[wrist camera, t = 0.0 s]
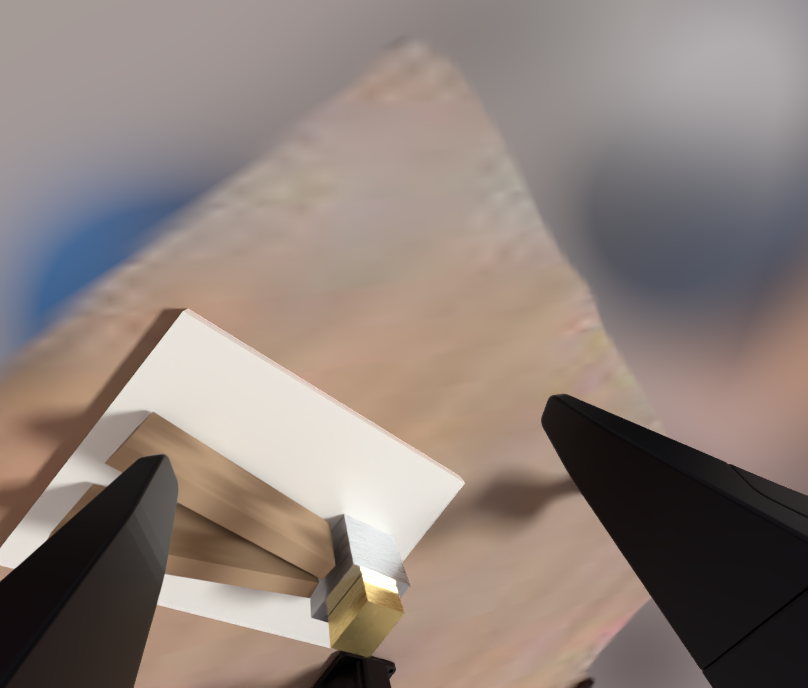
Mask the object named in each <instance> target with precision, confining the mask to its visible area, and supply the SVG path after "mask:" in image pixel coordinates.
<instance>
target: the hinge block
mask: <svg viewBox="0 0 808 688" xmlns="http://www.w3.org/2000/svg"><path fill="white" fill-rule="evenodd" d="M331 536H332V543H333V551H334V559H335V567H334V568H333V569H332V570H331V571H330V572H329V573H328V574H327V575H326V576H325V577H324V578H323V579H320V578H319V584H318V585H317V587H316V589H315V590H314V592H313V594H312V595H311V597H310V607H311V618H314V619H317V620H321V621H324V622H328V617H329V615H330V614H331V613H332V612H333V610H334V609H335V608H336V606H337V605H338V604H339V603H340V601H341V600H342V599H343V598H344V596H345V595H346V594H347V593H348V591H349V590H350V589H351V588H352V586H353V585H354V584H355V582H356V581H357V580H358V579H359V577H360V576H361V575H362V574H363V575H366V576H369V577H371V578H374V579H376V580H379V581H382V582H384V583H387V584H390V585H392V586H395V587H397V591H398V594H399V597H400V598H401V597H402V596H403V594H404V593H405V592H406V591H407V589H408V588H409V587H410V583H409V580H408V578H407V575H406V572H405V569H404V566H403V563H402V560H401V557H400V555H399V552H398V549H397V546H396V543H395V540H394V537H393V536H392V535H390V534H387V533H385V532H383V531H381V530H379V529H376V528H374V527H372V526H370V525H368V524H365V523H363V522H361V521H359V520H357V519H354V518H352V517H350V516H348V515H346V514H344V515H343V516H342V517H341V518H340V520H339V521H338V522H337V523H336V525H335V526H334V527H333V529H332V530H331Z"/></svg>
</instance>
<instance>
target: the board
mask: <svg viewBox="0 0 808 688" xmlns="http://www.w3.org/2000/svg"><path fill="white" fill-rule="evenodd" d="M152 412H155V413H156V414H158V415H159V416H161V417H163V418H164V419H166V420H167V421H169V422H171V423H172V424H174V425H175V426H177V427H178V428H180V429H182V430H183V431H185V432H186V433H188V434H189V435H191V436H193V437H194V438H196V439H197V440H199V441H201V442H202V443H204V444H205V445H207V446H208V447H210V448H212V449H213V450H215V451H216V452H218V453H219V454H221V455H223V456H224V457H226V458H227V459H229V460H231V461H232V462H234V463H235V464H237V465H238V466H240V467H242V468H243V469H245V470H246V471H248V472H249V473H251V474H253V475H254V476H256V477H257V478H259V479H261V480H262V481H264V482H265V483H267V484H268V485H270V486H272V487H273V488H275V489H276V490H278V491H279V492H281V493H283V494H284V495H286V496H287V497H289V498H291V499H292V500H294V501H295V502H297V503H298V504H300V505H302V506H303V507H305V508H306V509H308V510H309V511H311V512H313V513H314V514H316V515H317V516H319V517H321V518H322V519H324V520H325V521H327V522H328V523H330V528H331V530H332V529H333V527H334V526H335V525H336V523H337V522H338V521H339V520H340V518H341V517H342V516H343V515H344V514H346V515H348V516H350V517H352V518H354V519H357V520H359V521H361V522H363V523H365V524H368V525H370V526H372V527H374V528H376V529H379V530H381V531H383V532H385V533H387V534H390V535H392V536H393V537H394V540H395V543H396V546H397V549H398V552H399V555H400V557H401V560H402V562H403V561H404V559H405V558H406V557H407V556H408V554H409V553H410V552H411V551H412V549H413V548H414V547H415V546H416V544H417V543H418V542H419V540H420V539H421V538H422V537H423V535H424V534H425V533H426V532H427V530H428V529H429V528H430V527H431V525H432V524H433V523H434V522H435V520H436V519H437V518H438V517H439V515H440V514H441V513H442V511H443V510H444V509H445V508H446V506H447V505H448V504H449V503H450V501H451V500H452V499H453V498H454V496H455V495H456V494H457V493H458V491H459V490H460V489H461V488H462V486H463V485H464V484H465V482H464V481H463V480H462V478H461V477H460V476H459V475H458V474H456V473H454V472H453V471H451V470H449V469H448V468H446V467H445V466H443V465H441V464H440V463H438V462H436V461H435V460H433V459H432V458H430V457H428V456H427V455H425V454H423V453H422V452H420V451H419V450H417V449H415V448H414V447H412V446H410V445H409V444H407V443H406V442H404V441H402V440H401V439H399V438H398V437H396V436H394V435H393V434H391V433H389V432H388V431H386V430H385V429H383V428H381V427H380V426H378V425H376V424H375V423H373V422H372V421H370V420H368V419H367V418H365V417H363V416H362V415H360V414H359V413H357V412H355V411H354V410H352V409H350V408H349V407H347V406H346V405H344V404H342V403H341V402H339V401H337V400H336V399H334V398H333V397H331V396H329V395H328V394H326V393H325V392H323V391H321V390H320V389H318V388H316V387H315V386H313V385H312V384H310V383H308V382H307V381H305V380H303V379H302V378H300V377H299V376H297V375H295V374H294V373H292V372H290V371H289V370H287V369H286V368H284V367H282V366H281V365H279V364H277V363H276V362H274V361H273V360H271V359H269V358H268V357H266V356H264V355H263V354H261V353H260V352H258V351H256V350H255V349H253V348H252V347H250V346H248V345H247V344H245V343H243V342H242V341H240V340H239V339H237V338H235V337H234V336H232V335H230V334H229V333H227V332H226V331H224V330H222V329H221V328H219V327H217V326H216V325H214V324H213V323H211V322H209V321H208V320H206V319H204V318H203V317H201V316H200V315H198V314H196V313H195V312H193V311H191V310H190V309H186V310H184V311H183V312H182V313H181V314H180V316H179V317H178V318H177V320H176V321H175V322H174V323H173V325H172V326H171V327H170V329H169V330H168V331H167V333H166V334H165V335H164V336H163V338H162V339H161V340H160V342H159V343H158V344H157V346H156V347H155V348H154V349H153V351H152V352H151V353H150V355H149V356H148V357H147V358H146V360H145V361H144V362H143V364H142V365H141V366H140V368H139V369H138V370H137V371H136V373H135V374H134V375H133V377H132V378H131V379H130V381H129V382H128V383H127V384H126V386H125V387H124V388H123V390H122V391H121V392H120V394H119V395H118V396H117V397H116V399H115V400H114V401H113V403H112V404H111V405H110V406H109V408H108V409H107V410H106V412H105V413H104V414H103V416H102V417H101V418H100V419H99V421H98V422H97V423H96V425H95V426H94V427H93V429H92V430H91V431H90V432H89V434H88V435H87V436H86V438H85V439H84V440H83V441H82V443H81V444H80V445H79V447H78V448H77V449H76V451H75V452H74V453H73V454H72V456H71V457H70V458H69V460H68V461H67V462H66V464H65V465H64V466H63V467H62V469H61V470H60V471H59V473H58V474H57V475H56V476H55V478H54V479H53V480H52V482H51V483H50V484H49V486H48V487H47V488H46V489H45V491H44V492H43V493H42V495H41V496H40V497H39V499H38V500H37V501H36V502H35V504H34V505H33V506H32V508H31V509H30V510H29V512H28V513H27V514H26V515H25V517H24V518H23V519H22V521H21V522H20V523H19V524H18V526H17V527H16V528H15V530H14V531H13V532H12V534H11V535H10V536H9V537H8V539H7V540H6V541H5V543H4V544H3V545H2V547H1V548H0V565H1V566H5V567H9V568H13V569H15V568H16V567H17V566H18V565H19V564H21V563H22V562H23V561H24V560H25V559H26V558H27V557H28V556H30V555H31V554H32V553H33V552H34V551H35V550H36V549H37V548H38V547H40V546H41V545H42V544H43V543H44V542H45V541H46V540H47V539H48V537H49V535H50V533H51V532H52V531H53V530H54V528H55V527H56V526H57V525H58V524H59V523H60V521H61V520H62V519H63V518H64V517H65V516H66V515H67V513H68V512H69V511H70V510H71V509H72V508H73V507H74V505H75V504H76V503H77V502H78V501H79V500H80V498H81V497H82V496H83V495H84V494H85V493H86V492H87V490H88V489H89V488H90V487H91V486H92V485H93V484H95V485H100V486H104V487H107V486H108V485H109V484H110V483H111V482H113V481H114V480H115V479H116V478H117V477H118V476H119V475H120V474H122V472H120V471H118V470H116V469H115V468H113V467H111V466H109V465H107V464H105V462H106V461H107V460H108V459H109V458H110V457H111V455H112V454H113V453H114V452H115V451H116V450H117V449H118V448H119V447H120V445H121V444H122V443H123V442H124V441H125V440H126V439H127V438H128V437H129V435H130V434H131V433H132V432H133V431H134V430H135V429H136V428H137V427H138V426H139V425H140V424H141V423H142V422H143V421H144V420H145V419H146V418H147V417H148V416H149V415H150V414H151V413H152ZM177 505H181V506H184V505H182V504H180V503H178V502H177ZM185 507H186V506H185ZM157 605H160V606H164V607H168V608H172V609H176V610H180V611H184V612H188V613H192V614H196V615H200V616H204V617H208V618H212V619H216V620H220V621H224V622H228V623H232V624H236V625H240V626H244V627H248V628H252V629H256V630H260V631H264V632H268V633H272V634H276V635H280V636H284V637H288V638H292V639H296V640H300V641H304V642H308V643H312V644H316V645H320V646H324V647H327V648H331V647H330V636H329V625H328V622H324V621H321V620H317V619H314V618H311V607H310V598H305V597H299V596H293V595H287V594H281V593H275V592H269V591H263V590H257V589H251V588H245V587H239V586H233V585H227V584H221V583H215V582H209V581H203V580H197V579H191V578H185V577H179V576H173V575H167V574H165V575H164V579H163V583H162V587H161V591H160V595H159V598H158V602H157ZM331 649H333V648H331Z"/></svg>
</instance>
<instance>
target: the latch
mask: <svg viewBox="0 0 808 688" xmlns="http://www.w3.org/2000/svg"><path fill="white" fill-rule="evenodd" d="M403 614H404V610H403V607H402V604H401V600H400V597H399V594H398V591H397V587H395V586H392V585H390V584H387V583H384V582H382V581H379V580H376V579H374V578H371V577H369V576H366V575H363V574H362V575H361V576H360V577H359V579H358V580H357V581H356V582H355V584H354V585H353V586H352V588H351V589H350V590H349V591H348V593H347V594H346V595H345V596H344V598H343V599H342V600H341V601H340V603H339V604H338V605H337V606H336V608H335V609H334V610H333V612H332V613H331V614H330V615H329V617H328V625H329V636H330V647H331V648H333V649H337V650H341V651H345V652H349V653H353V654H357V655H361V656H365V657H370V656H371V655H372V653H373V652H374V651H375V650H376V648H377V647H378V646H379V645H380V643H381V642H382V641H383V640H384V638H385V637H386V636H387V635H388V633H389V632H390V631H391V630H392V628H393V627H394V626H395V625H396V623H397V622H398V621H399V620H400V618H401V617H402V616H403Z"/></svg>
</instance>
